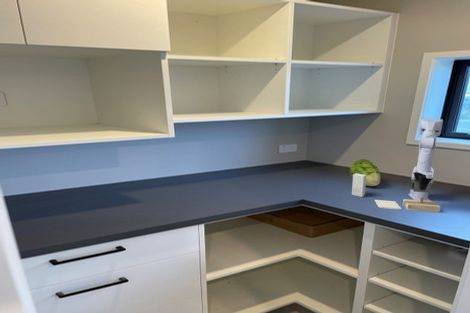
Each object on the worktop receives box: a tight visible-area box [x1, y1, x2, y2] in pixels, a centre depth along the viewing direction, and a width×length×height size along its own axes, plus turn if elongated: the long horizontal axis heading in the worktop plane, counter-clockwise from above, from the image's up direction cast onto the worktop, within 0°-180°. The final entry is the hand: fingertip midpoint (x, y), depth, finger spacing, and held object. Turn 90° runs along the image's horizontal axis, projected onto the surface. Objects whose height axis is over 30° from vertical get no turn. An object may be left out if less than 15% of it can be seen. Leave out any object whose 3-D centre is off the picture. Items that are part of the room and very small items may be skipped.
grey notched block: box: [410, 178, 432, 194], centre depth 141 cm, size 4×7×5 cm, turn 78°
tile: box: [374, 199, 402, 210], centre depth 147 cm, size 10×10×1 cm
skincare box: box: [351, 173, 367, 198], centre depth 160 cm, size 6×4×12 cm
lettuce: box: [349, 158, 381, 187], centre depth 179 cm, size 16×21×15 cm
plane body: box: [402, 198, 441, 213], centre depth 143 cm, size 7×14×6 cm, turn 78°
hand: (420, 188), depth 141 cm, fingers closed on grey notched block, 4 cm apart
